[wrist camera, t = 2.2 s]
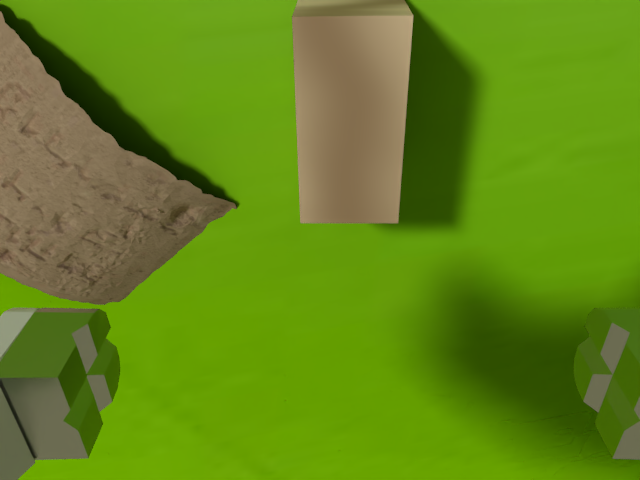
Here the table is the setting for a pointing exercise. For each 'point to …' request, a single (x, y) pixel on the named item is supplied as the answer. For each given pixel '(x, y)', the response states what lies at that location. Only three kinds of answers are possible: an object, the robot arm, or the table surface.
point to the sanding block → (351, 107)
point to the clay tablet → (81, 193)
